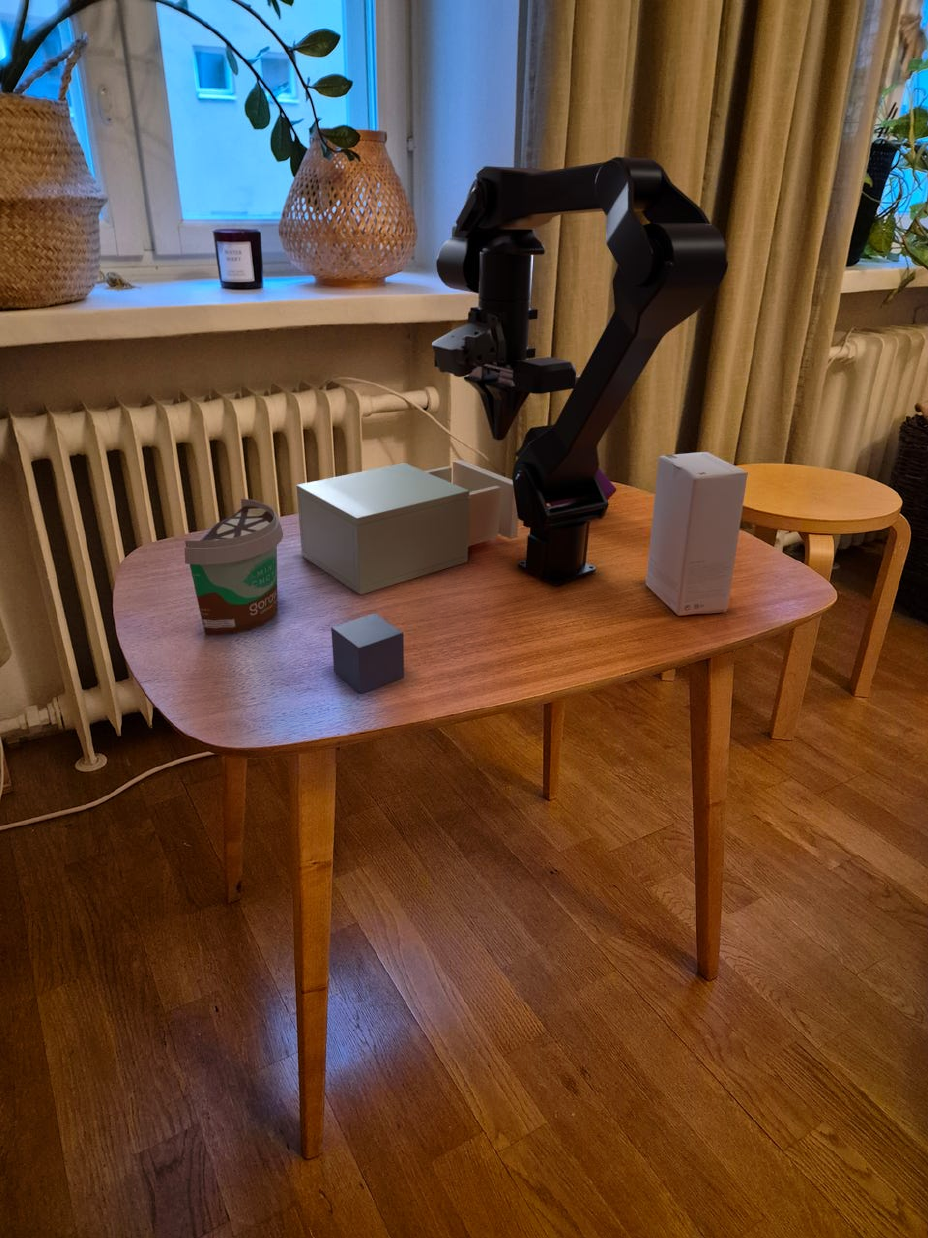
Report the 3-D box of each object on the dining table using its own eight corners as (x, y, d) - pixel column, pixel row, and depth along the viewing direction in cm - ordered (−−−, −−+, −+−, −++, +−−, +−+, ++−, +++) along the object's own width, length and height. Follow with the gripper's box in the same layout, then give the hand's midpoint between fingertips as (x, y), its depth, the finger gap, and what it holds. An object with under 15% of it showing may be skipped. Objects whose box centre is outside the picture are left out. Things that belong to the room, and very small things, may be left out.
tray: (484, 503, 107) (486, 453, 103) (543, 529, 99) (547, 476, 96) (372, 532, 97) (370, 478, 93) (428, 564, 89) (428, 506, 86)
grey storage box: (405, 528, 100) (404, 462, 96) (467, 561, 92) (469, 490, 88) (301, 556, 92) (296, 484, 88) (360, 595, 84) (356, 518, 80)
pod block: (376, 656, 73) (374, 612, 71) (404, 677, 70) (403, 632, 68) (333, 671, 70) (330, 627, 68) (360, 694, 67) (358, 648, 65)
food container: (258, 649, 73) (247, 549, 69) (197, 641, 74) (181, 542, 70) (308, 592, 84) (301, 502, 79) (253, 585, 85) (243, 496, 80)
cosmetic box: (727, 613, 82) (755, 473, 75) (673, 618, 81) (697, 476, 74) (689, 578, 89) (711, 448, 82) (639, 583, 88) (657, 451, 81)
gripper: (395, 293, 89) (398, 432, 96) (503, 313, 76) (496, 471, 83) (473, 289, 95) (470, 419, 102) (585, 306, 82) (572, 454, 90)
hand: (498, 439), depth 94 cm, fingers closed
